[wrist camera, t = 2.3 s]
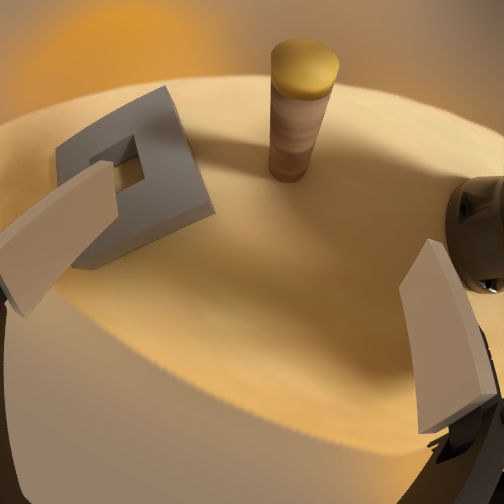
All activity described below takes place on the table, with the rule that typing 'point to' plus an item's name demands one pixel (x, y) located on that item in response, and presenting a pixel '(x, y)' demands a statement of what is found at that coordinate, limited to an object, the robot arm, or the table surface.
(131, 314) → the table surface
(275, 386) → the table surface
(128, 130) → the socket plate
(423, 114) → the table surface
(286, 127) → the yellow capped peg
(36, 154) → the table surface
